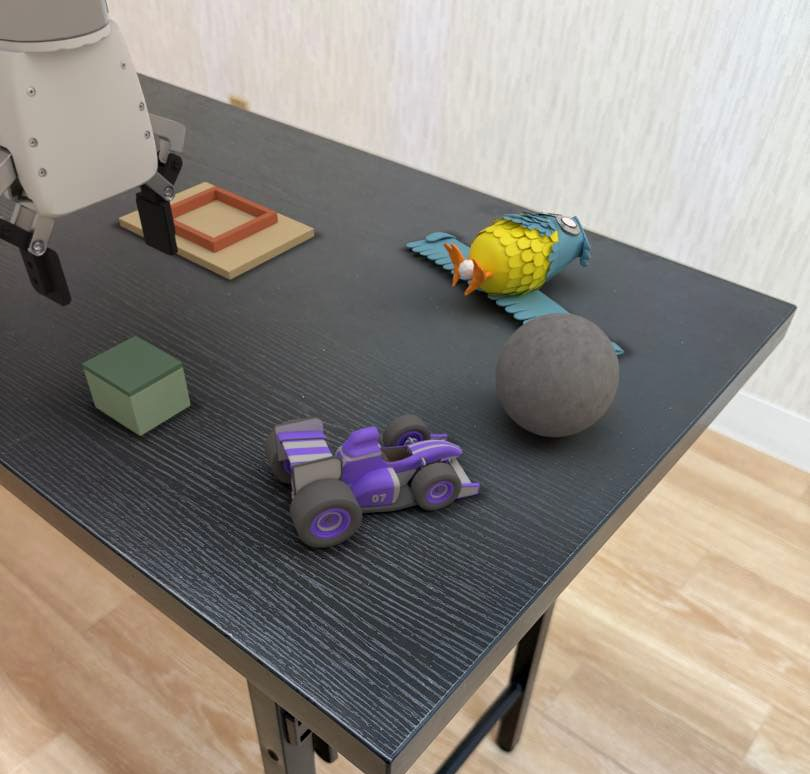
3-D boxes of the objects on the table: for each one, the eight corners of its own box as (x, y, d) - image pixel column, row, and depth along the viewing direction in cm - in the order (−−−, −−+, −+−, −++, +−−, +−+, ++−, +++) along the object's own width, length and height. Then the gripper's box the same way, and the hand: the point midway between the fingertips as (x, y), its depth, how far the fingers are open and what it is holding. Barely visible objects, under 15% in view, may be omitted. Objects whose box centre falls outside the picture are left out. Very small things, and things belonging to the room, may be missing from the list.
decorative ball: (466, 412, 70) (477, 311, 63) (550, 376, 75) (570, 277, 67) (542, 477, 65) (564, 375, 58) (628, 434, 69) (659, 334, 62)
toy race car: (486, 507, 63) (496, 443, 58) (300, 556, 58) (294, 491, 54) (438, 432, 68) (444, 368, 64) (266, 472, 64) (258, 407, 60)
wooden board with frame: (120, 226, 92) (115, 207, 90) (206, 189, 99) (203, 171, 97) (229, 280, 84) (227, 260, 83) (314, 236, 91) (313, 217, 90)
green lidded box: (95, 407, 69) (81, 363, 66) (146, 378, 72) (135, 335, 69) (140, 436, 67) (128, 392, 64) (191, 405, 70) (182, 362, 67)
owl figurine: (379, 176, 82) (493, 149, 89) (377, 256, 89) (483, 225, 95) (567, 299, 67) (688, 255, 74) (549, 385, 73) (661, 338, 80)
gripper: (118, -30, 54) (168, 218, 67) (-135, 24, 45) (-22, 302, 57) (194, -10, 51) (231, 246, 63) (-62, 53, 42) (40, 340, 54)
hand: (111, 272), depth 60 cm, fingers open, 9 cm apart
